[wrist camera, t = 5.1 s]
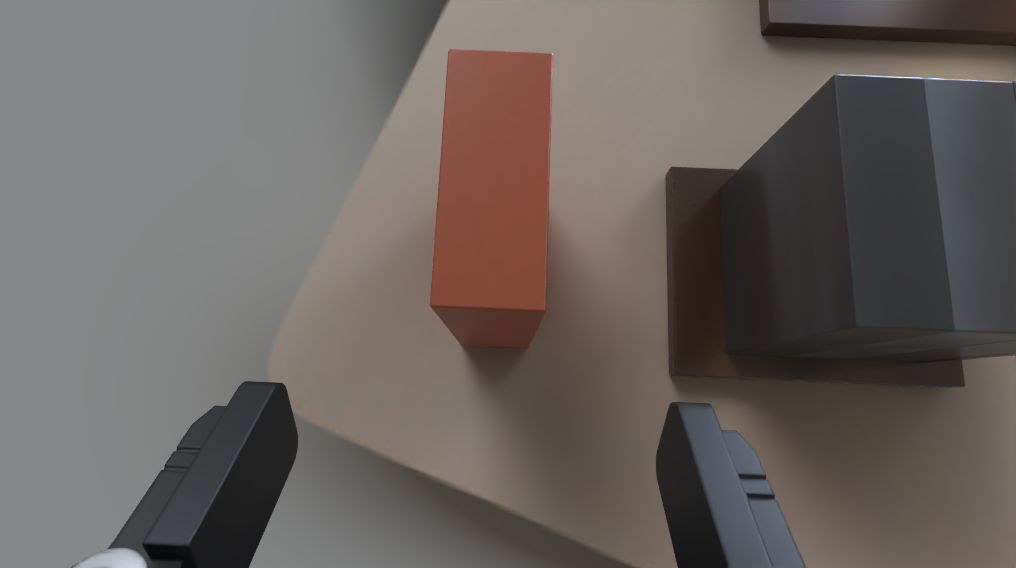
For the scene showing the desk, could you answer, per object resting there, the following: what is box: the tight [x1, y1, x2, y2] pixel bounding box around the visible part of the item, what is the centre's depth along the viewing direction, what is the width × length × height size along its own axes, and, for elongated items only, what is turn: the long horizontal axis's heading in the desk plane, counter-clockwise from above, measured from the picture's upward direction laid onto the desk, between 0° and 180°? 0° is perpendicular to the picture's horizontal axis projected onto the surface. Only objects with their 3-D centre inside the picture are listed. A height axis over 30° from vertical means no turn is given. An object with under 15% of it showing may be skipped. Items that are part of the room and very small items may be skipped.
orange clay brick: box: [430, 49, 553, 348], centre depth 21 cm, size 3×8×11 cm, turn 178°
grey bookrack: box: [666, 74, 1016, 388], centre depth 22 cm, size 13×10×10 cm
